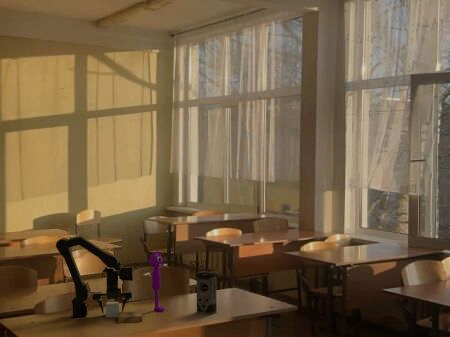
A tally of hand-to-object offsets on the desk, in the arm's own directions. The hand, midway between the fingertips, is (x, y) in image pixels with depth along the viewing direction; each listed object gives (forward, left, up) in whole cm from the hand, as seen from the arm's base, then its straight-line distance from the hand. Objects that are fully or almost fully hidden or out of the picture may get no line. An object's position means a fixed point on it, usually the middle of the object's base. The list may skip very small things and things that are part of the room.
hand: (112, 312), depth 299 cm
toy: (+22, +6, -1) cm, 23 cm away
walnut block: (+9, -10, -2) cm, 13 cm away
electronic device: (+46, -3, -1) cm, 46 cm away
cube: (0, 0, -1) cm, 1 cm away
